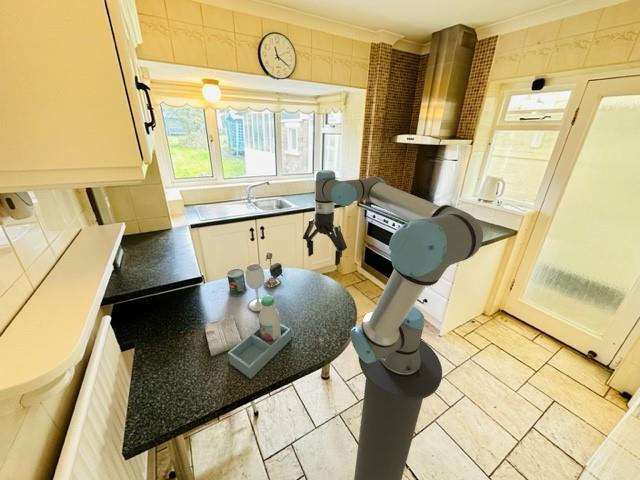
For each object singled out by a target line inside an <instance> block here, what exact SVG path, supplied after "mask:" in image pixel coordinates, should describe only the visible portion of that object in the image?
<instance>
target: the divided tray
mask: <svg viewBox="0 0 640 480" xmlns="http://www.w3.org/2000/svg"><path fill="white" fill-rule="evenodd" d="M280 328H281V337H280V338H278V339H277V340H276V341H275V342H274V343H273V344H272V345H270V344H268V343H266V342H265V341H263V340H261V333H260V326H259V327H258V328H256V329H255V330H254V331H252V332H251V333H250V334H249V335H247V336H246V337H245V338H244V339H243V340H241V342H240V343H239V344H238V345H236V346H235V347H234V348H233V349H231V350H228V352H227V356H228V362H229V364H230V365H231V366H232V367H234V368H235V369H237V370H238V371H240V373H242V374H244V375H245V376H246V377H247V378H249V379H250V380H252V379H253V378H254V377H255V375H257V374H258V373H259V372H260V371H261V369H263V368H264V367H265V366H266V365H267V364H268V363H269V362H270V361H271V360H272V359H273V358H274V357H275V356H276V355H277V354H278V353H279V352H280V351H281V350H282V349H283V348H284V347H286V345H288V343H289V342H290V341H291V340H292V329H291V328H289V327H288V326H286V325H284V324H282V323H280Z"/></svg>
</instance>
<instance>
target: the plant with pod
mask: <svg viewBox="0 0 640 480" xmlns="http://www.w3.org/2000/svg"><path fill="white" fill-rule="evenodd" d="M272 259H273V253H272V252H266V255H265V261H267V260H269V264H270V266H269V273H270V277H269V278H267V279H266V280H264V286H265V287H266V288H272V287H276V286H278V285H279V284H280V283H281V281H280V280H279V279H278V277H280V276H281V277H284V275H283V268H282V267H283V266H282V263H279V262H275V263H273V264H272Z"/></svg>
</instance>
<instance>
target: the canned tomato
mask: <svg viewBox="0 0 640 480" xmlns="http://www.w3.org/2000/svg"><path fill="white" fill-rule="evenodd" d="M244 273H245V272H244V270H243V269H241V268H233V269H231V270H229V271H228V272H227V273H226V276H227V281H228V286H229V293H230V295H232V296H235V297H237V296H239V297H240V296H242V295H244V294H245V293H246V292H247V287H246V278H245V274H244Z"/></svg>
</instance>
